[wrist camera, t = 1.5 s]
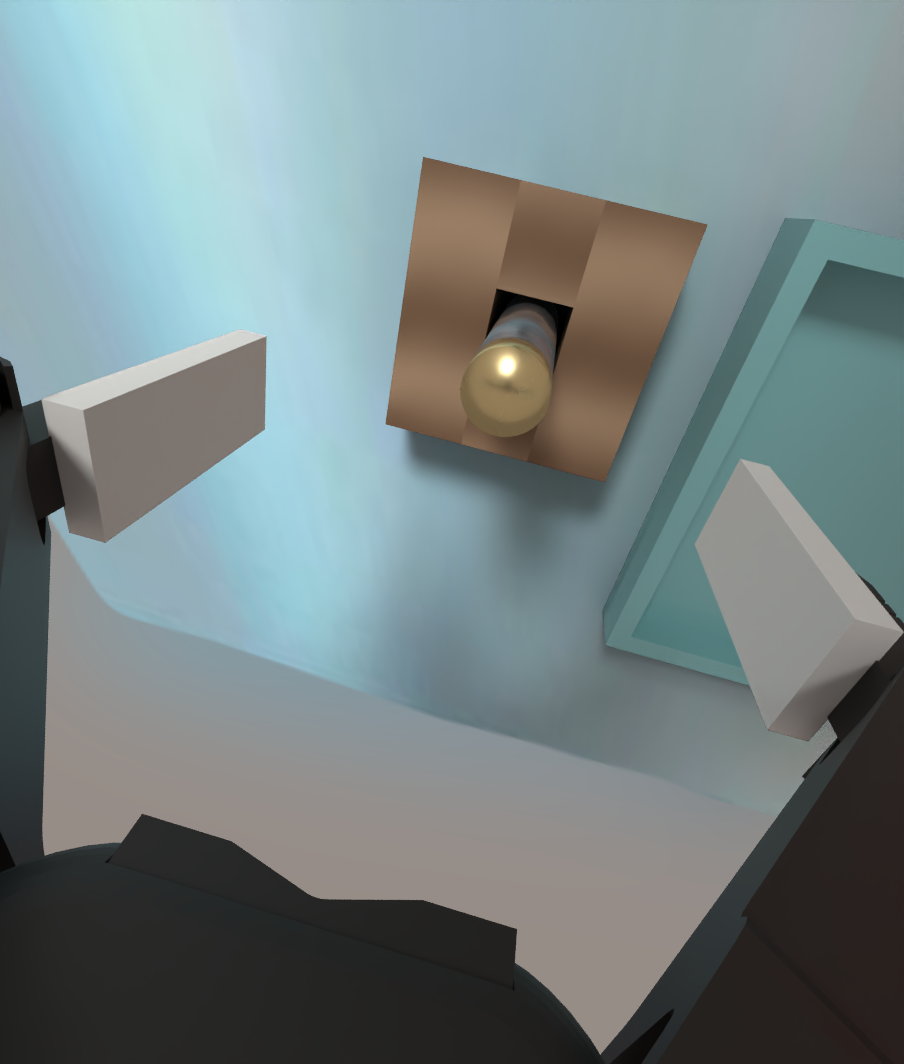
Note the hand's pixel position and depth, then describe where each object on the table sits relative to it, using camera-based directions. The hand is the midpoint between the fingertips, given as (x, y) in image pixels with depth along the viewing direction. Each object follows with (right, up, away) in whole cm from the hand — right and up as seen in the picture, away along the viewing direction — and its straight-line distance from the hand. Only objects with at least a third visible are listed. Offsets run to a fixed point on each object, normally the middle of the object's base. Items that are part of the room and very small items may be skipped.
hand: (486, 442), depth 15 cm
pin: (+3, +9, +14) cm, 17 cm away
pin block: (+3, +9, +14) cm, 17 cm away
